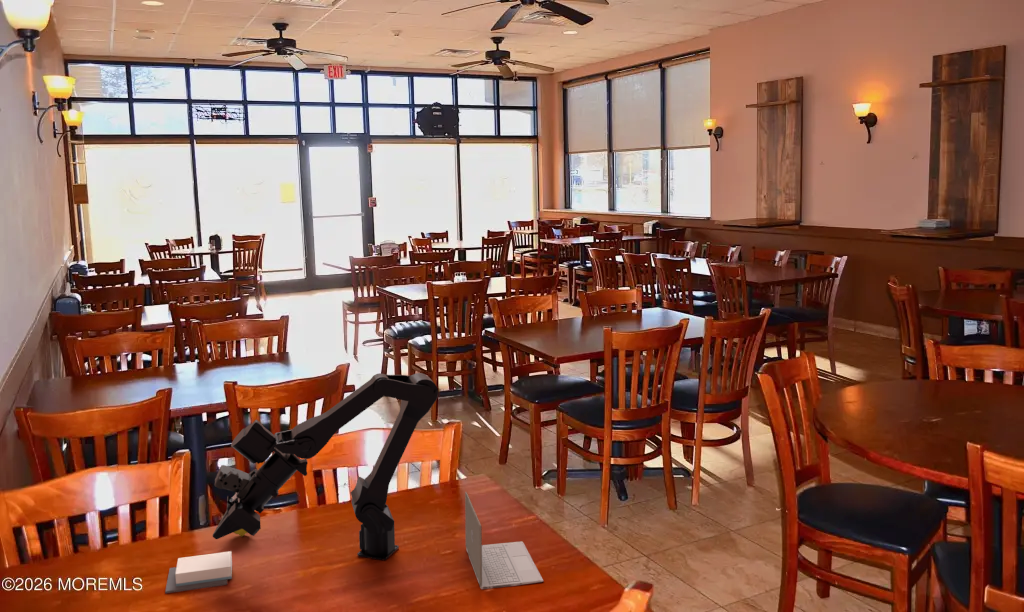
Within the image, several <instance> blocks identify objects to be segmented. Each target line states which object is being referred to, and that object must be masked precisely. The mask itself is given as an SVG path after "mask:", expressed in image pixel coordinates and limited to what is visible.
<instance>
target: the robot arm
mask: <svg viewBox="0 0 1024 612" xmlns="http://www.w3.org/2000/svg"><path fill="white" fill-rule="evenodd" d="M384 397H387V398H393V399H396V400H400V401H401V402H400V408H399V412H398V415H397V417H396V419H395V421H394V423H393V425H392V428H391V430H390V431H389V434H388V435H387V437H386V440H385V442H384V444H383V447H382V448H381V451H380V452H379V456H378V457H377V460H376V461H375V464H374V466H373V468H372V469H371V472H370V473H369V474H368V475H367V476H366V477H365V478H363V477H361V476H358V477H357V480H356V484H355V487H354V488H353V490H351V492H350V496H351V505H352V508H353V512H354V515H355V517H356V520H358V522H360V523H361V524H360V530H359V531H358V536H359V550H360V551H358V552H357V557H361V558H365V559H366V558H367V559H372V560H379V561H386V560H387V559H388V558H389V557H391V556H392V555H393V553H395V552H396V551H397V550H399V547H400V546H399V544H398V545H396V541H395V540H396V539H395V537H396V535H395V520H394V518H393V515H392V512H391V510H390V508H389V505H388V504H387V500H388V493H389V487H390V482H391V481H392V479H393V476H394V474H395V473H396V469H397V468H398V466H399V464H400V462H401V459H402V457H403V455H404V453H405V451H406V449H407V446H408V444H409V443H410V440H411V437H413V433H414V432H415V429H416V427H417V426H418V423H419V422H420V421H421V419H423V417H425V416H426V415H427V414H428V413H429V411H431V408H433V406H434V404H435V403H436V402H437V400H438V397H439V389H438V386H437V384H436V383H435V382H434V381H433V380H432V379H431V378H430V376H429V375H428V374H425V373H422V372H418V373H414V374H412V375H406V374H385V373H381V372H380V373H376V374H374V375H372V377H371V378H370V379H369V380H367V381H366V382H365V383H363V384H362V385H360V387H358V388H357V389H355V390H354V391H353V392H352V393H350V394H349V395H347V396H346V397H345V398H343V399H341V400H340V401H339V402H338V403H336V404H335V405H333V407H331V408H329V409H327V411H326V412H324V413H321V414H319V415H316V416H313V417H311V418H308V419H306V420H305V421H303V422H300V423H298V424H297V425H295V426H294V427H293V428H292V429H288V430H283V431H280V432H275V433H274V434H273V433H272V432H271V431H270V430H269V429H267V428H266V427H265V426H264V425H263V424H262V422H261V421H259V420H258V419H255V420H254V421H253V422H252V423H249V424H248V425H247V426H246V427H244V428H242V429H241V431H239V433H238V434H236V436H235V437H234V439H233V440H232V442H231V445H230V446H231V447H230V448H233V449H234V450H235V451H236V452H238V453H239V454H240V455H241V456H243V458H246V459H247V460H248V461H249V462H250V463H252V464H256V463H257V464H258V465H260V464H262V465H261V466H260V467H259V468H258V469H257V468H255V469H252V470H251V471H250V472H249V473H247V472H245V471H243V470H241V469H239V468H238V469H237V468H234V467H232V466H228V465H225V464H222V465H220V467H219V470H218V472H217V474H216V476H215V479H214V487H216V488H217V489H220V490H227V491H230V492H234V495H233V496H232V497H231V496H230V495H227V498H226V501H227V503H226V511H225V513H224V514H223V516H222V518H221V520H220V521H219V523H218V525H217V526H216V528H215V530H214V532H213V533H212V538H213V539H215V540H218V539H221V538H224V537H226V536H228V535H230V534H234V532H235V531H238V530H240V529H243V530H245V531H246V532H247V533H246V534H249V535H250V536H252V537H254V536H255V535H256V534H257V533H258V532H259V531H260V530H261V527H262V526H261V515H260V514H262V512H264V510H265V509H264V507H265V505H266V504H267V503H268V502H269V501H270V500H271V499H272V498H274V499H276V497H278V495H279V493H280V492H279V490H280V489H281V488H282V487H283V486H284V485H285V484H286V483H287V482H288V480H289V479H290V478H291V477H293V475H295V473H296V472H299V473H300V474H301V475H302V476H304V477H307V476H308V471H307V470H308V469H307V468H308V467H307V466H308V460H309V459H312V458H313V457H316V455H317V454H319V453H320V452H321V451H322V449H323V448H324V447H326V445H327V444H328V443H329V442H330V440H331V439H332V438H333V436H334V435H335V434H336V433H337V432H338V431H339V430H340V429H342V428H343V427H344V426H346V425H347V424H348V423H349V422H351V421H353V420H354V419H355V418H356V417H357V416H359V415H361V413H363V412H364V411H366V410H367V409H369V408H370V407H371V406H372V405H374V404H375V403H376V402H378V401H379V400H380V399H382V398H384Z"/></svg>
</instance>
